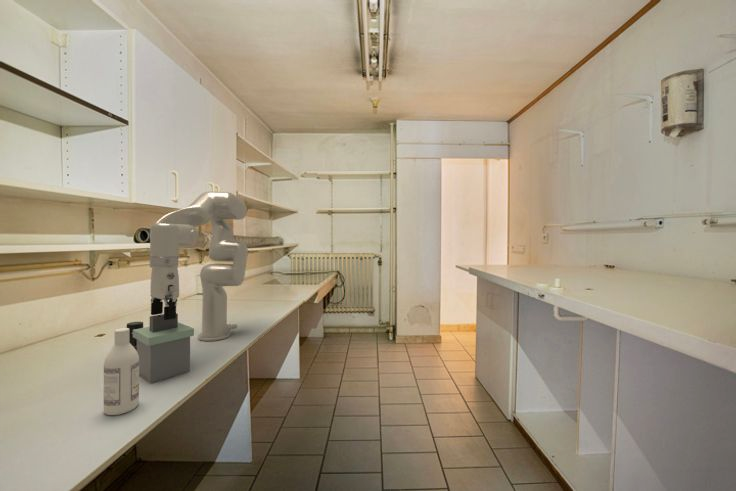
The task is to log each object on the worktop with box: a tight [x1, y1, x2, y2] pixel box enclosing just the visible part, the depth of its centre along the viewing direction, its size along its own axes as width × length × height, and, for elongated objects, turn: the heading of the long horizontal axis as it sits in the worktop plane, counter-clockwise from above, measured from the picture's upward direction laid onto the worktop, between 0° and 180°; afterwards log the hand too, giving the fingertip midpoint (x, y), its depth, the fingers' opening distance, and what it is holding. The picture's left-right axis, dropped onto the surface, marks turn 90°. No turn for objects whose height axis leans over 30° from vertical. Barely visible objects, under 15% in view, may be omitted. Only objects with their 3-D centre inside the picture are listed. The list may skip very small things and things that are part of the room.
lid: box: [133, 312, 195, 346], centre depth 98 cm, size 13×13×7 cm
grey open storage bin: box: [137, 336, 191, 384], centre depth 99 cm, size 11×11×13 cm
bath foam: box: [103, 327, 140, 416], centre depth 78 cm, size 7×7×20 cm
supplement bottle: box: [125, 321, 144, 351], centre depth 111 cm, size 7×7×12 cm
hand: (163, 316), depth 98 cm, fingers open, 9 cm apart
